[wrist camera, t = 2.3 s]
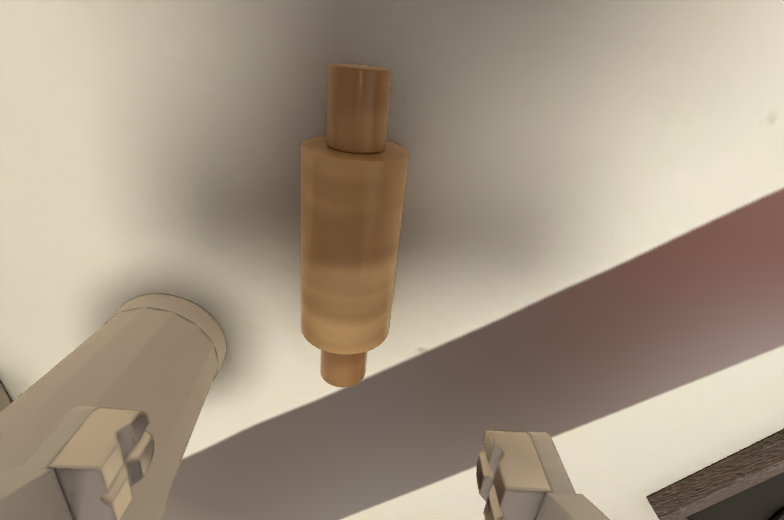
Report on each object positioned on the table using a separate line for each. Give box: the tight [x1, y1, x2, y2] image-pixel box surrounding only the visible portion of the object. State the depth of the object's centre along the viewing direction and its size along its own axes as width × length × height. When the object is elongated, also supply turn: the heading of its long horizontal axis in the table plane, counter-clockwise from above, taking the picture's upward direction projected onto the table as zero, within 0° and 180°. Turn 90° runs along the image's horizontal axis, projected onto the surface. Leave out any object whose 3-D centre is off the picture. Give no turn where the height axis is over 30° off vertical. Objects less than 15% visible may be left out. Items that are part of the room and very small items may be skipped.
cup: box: [0, 294, 226, 520], centre depth 19 cm, size 8×8×12 cm
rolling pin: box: [301, 63, 409, 387], centre depth 19 cm, size 15×4×4 cm, turn 174°
